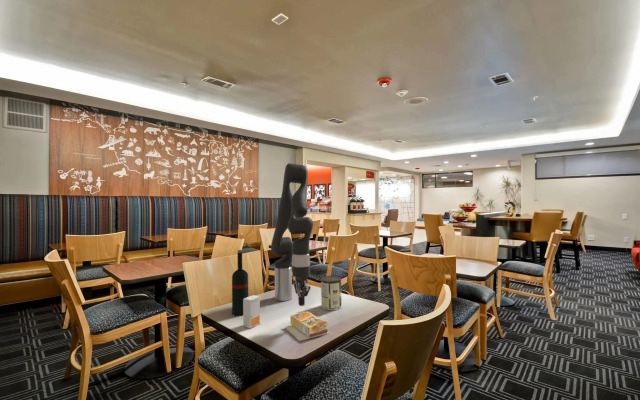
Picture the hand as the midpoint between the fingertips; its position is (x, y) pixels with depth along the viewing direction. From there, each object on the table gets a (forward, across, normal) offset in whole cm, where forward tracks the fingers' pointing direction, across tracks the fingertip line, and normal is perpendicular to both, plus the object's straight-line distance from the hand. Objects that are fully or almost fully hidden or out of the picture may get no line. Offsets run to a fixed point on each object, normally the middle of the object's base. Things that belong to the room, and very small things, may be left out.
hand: (301, 305), depth 128 cm
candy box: (+7, +4, 0) cm, 8 cm away
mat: (+9, -4, 0) cm, 10 cm away
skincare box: (+9, +12, +18) cm, 24 cm away
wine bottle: (+9, +30, +18) cm, 36 cm away
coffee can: (+9, +14, -23) cm, 28 cm away
